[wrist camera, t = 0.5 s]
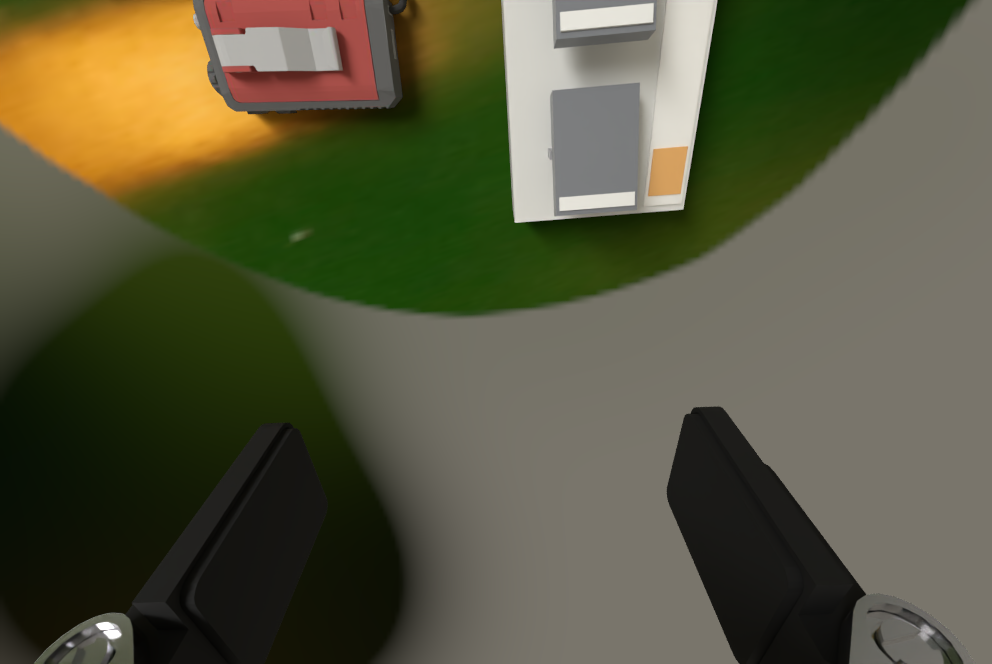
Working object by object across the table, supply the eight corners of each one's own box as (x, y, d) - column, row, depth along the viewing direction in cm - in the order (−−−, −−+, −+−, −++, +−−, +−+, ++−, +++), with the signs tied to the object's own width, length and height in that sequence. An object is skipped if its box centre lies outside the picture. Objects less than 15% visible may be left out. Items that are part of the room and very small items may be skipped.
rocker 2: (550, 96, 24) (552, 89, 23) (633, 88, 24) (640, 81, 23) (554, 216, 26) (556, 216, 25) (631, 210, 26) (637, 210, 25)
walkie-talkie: (405, -55, 25) (80, -48, 25) (389, -81, 21) (6, -72, 21) (421, 109, 29) (147, 114, 29) (410, 112, 25) (95, 118, 25)
